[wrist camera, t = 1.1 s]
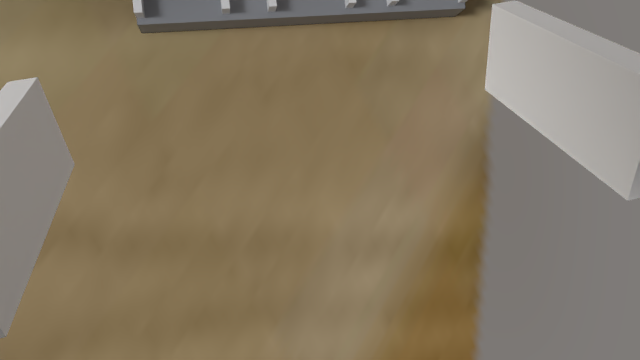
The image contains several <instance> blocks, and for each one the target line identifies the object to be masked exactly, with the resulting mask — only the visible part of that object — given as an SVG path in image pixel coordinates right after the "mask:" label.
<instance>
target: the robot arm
mask: <svg viewBox="0 0 640 360" xmlns="http://www.w3.org/2000/svg"><path fill="white" fill-rule="evenodd" d="M485 90H486V91H487V92H489V93H490V94H491V95H493V96H494V97H495V98H496V99H498V100H499V101H500V102H502V103H503V104H504V105H505V106H507V107H508V108H509V109H511V110H512V111H513V112H514V113H516V114H517V115H518V116H519V117H521V118H522V119H523V120H525V121H526V122H527V123H529V124H530V125H531V126H532V127H534V128H535V129H536V130H537V131H539V132H540V133H541V134H543V135H544V136H545V137H546V138H548V139H549V140H550V141H552V142H553V143H554V144H555V145H557V146H558V147H559V148H560V149H562V150H563V151H564V152H566V153H567V154H568V155H569V156H571V157H572V158H573V159H575V160H576V161H577V162H578V163H580V164H581V165H582V166H584V167H585V168H586V169H587V170H589V171H590V172H591V173H593V174H594V175H595V176H596V177H598V178H599V179H600V180H602V181H603V182H604V183H605V184H607V185H608V186H609V187H610V188H612V189H613V190H614V191H616V192H617V193H618V194H619V195H621V196H622V197H623V198H625V199H626V200H627V201H629V200H633V199H638V198H640V53H638V52H635V51H633V50H631V49H628V48H626V47H624V46H621V45H619V44H616V43H614V42H612V41H610V40H607V39H605V38H603V37H600V36H598V35H596V34H593V33H591V32H589V31H586V30H584V29H581V28H579V27H577V26H574V25H572V24H570V23H568V22H565V21H563V20H560V19H558V18H556V17H554V16H551V15H549V14H546V13H544V12H542V11H540V10H537V9H535V8H533V7H530V6H528V5H525V4H523V3H521V2H519V1H509V2H503V3H497V4H492V15H491V26H490V37H489V49H488V60H487V71H486V83H485ZM73 167H74V162H73V159H72V157H71V155H70V152H69V150H68V148H67V145H66V143H65V141H64V138H63V136H62V133H61V131H60V129H59V126H58V124H57V122H56V119H55V117H54V115H53V112H52V110H51V108H50V105H49V103H48V101H47V98H46V96H45V93H44V91H43V89H42V86H41V84H40V82H39V79H38V77H36V78H30V79H23V80H17V81H11V82H7V83H6V85H5V86H4V87H3V88H2V89H1V91H0V338H3V337H6V336H7V333H8V331H9V328H10V326H11V323H12V321H13V318H14V316H15V313H16V311H17V308H18V305H19V303H20V300H21V298H22V295H23V293H24V290H25V288H26V285H27V283H28V280H29V278H30V275H31V273H32V270H33V268H34V265H35V263H36V260H37V258H38V255H39V253H40V250H41V248H42V245H43V243H44V240H45V237H46V235H47V232H48V230H49V227H50V225H51V222H52V220H53V217H54V215H55V212H56V210H57V207H58V205H59V202H60V200H61V197H62V195H63V192H64V190H65V187H66V185H67V182H68V180H69V177H70V174H71V172H72V169H73Z"/></svg>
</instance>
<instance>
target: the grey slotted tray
mask: <svg viewBox="0 0 640 360" xmlns="http://www.w3.org/2000/svg"><path fill="white" fill-rule="evenodd" d="M466 1H467V0H133V8H134V14H135V16H136V18H137V25H138V27H139V29H140V31H141V33H152V32H171V31H189V30H208V29H227V28H246V27H265V26H283V25H302V24H321V23H340V22H358V21H377V20H396V19H415V18H433V17H452V16H456V15H457V14H459V13H460V12H461V11H463V10H464V9H465V2H466Z"/></svg>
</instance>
